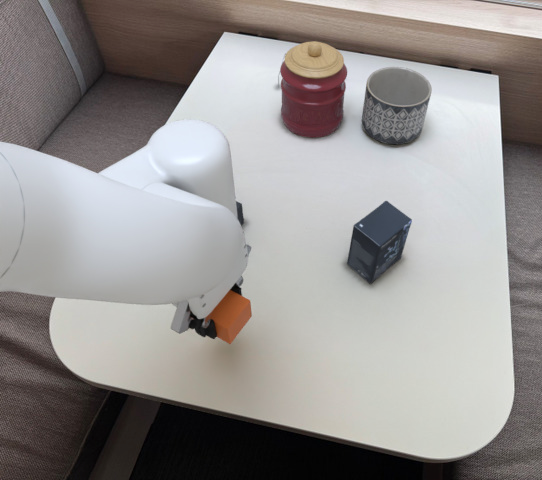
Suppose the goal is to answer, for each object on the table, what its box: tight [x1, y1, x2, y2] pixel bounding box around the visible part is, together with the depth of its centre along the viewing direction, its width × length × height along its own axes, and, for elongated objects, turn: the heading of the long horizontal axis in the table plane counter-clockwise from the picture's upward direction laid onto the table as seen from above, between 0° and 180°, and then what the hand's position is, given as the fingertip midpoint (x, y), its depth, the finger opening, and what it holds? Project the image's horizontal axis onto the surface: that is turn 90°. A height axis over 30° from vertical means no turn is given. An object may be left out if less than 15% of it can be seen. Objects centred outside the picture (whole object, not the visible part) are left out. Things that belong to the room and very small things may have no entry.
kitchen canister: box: [279, 40, 348, 139], centre depth 103 cm, size 13×13×18 cm
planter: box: [361, 66, 433, 145], centre depth 105 cm, size 13×13×10 cm
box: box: [346, 200, 413, 284], centre depth 84 cm, size 8×6×11 cm
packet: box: [211, 290, 253, 345], centre depth 68 cm, size 5×7×4 cm
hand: (219, 315), depth 69 cm, fingers closed on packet, 5 cm apart
